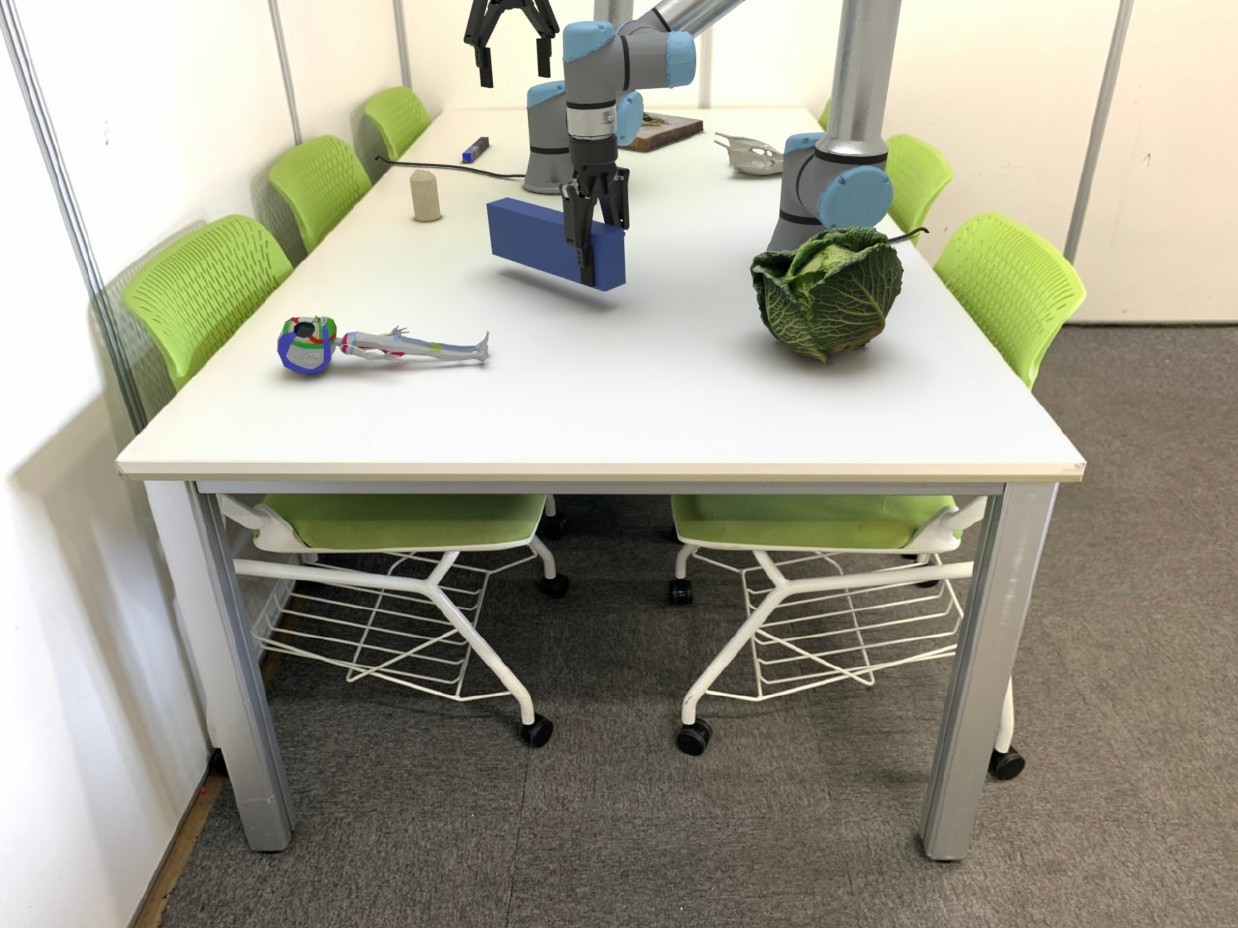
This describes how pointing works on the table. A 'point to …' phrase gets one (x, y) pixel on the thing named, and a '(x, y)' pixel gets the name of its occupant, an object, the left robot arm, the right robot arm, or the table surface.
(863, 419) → the table surface
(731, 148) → the anatomical model
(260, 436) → the table surface
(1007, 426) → the table surface
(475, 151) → the pillar
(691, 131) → the plaque
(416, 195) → the candle
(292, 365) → the toy
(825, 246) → the vegetable
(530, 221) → the bar
